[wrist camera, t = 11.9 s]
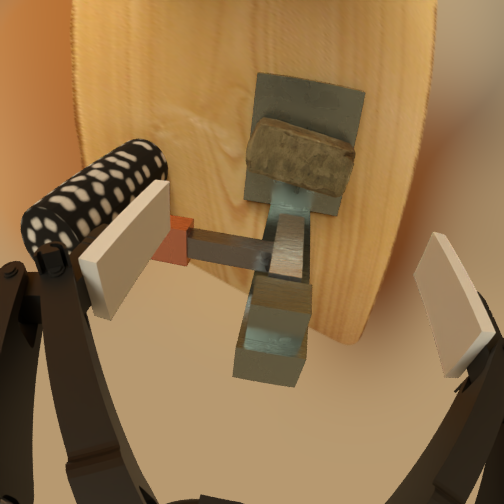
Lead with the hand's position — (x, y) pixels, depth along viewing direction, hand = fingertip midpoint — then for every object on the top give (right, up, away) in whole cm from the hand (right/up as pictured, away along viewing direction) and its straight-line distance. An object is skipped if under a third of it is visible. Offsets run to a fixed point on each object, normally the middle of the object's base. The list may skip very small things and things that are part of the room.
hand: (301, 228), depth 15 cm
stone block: (+3, +11, +21) cm, 23 cm away
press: (+3, +10, +23) cm, 25 cm away
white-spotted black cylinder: (-18, +11, +27) cm, 34 cm away
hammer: (-4, +2, +16) cm, 17 cm away
